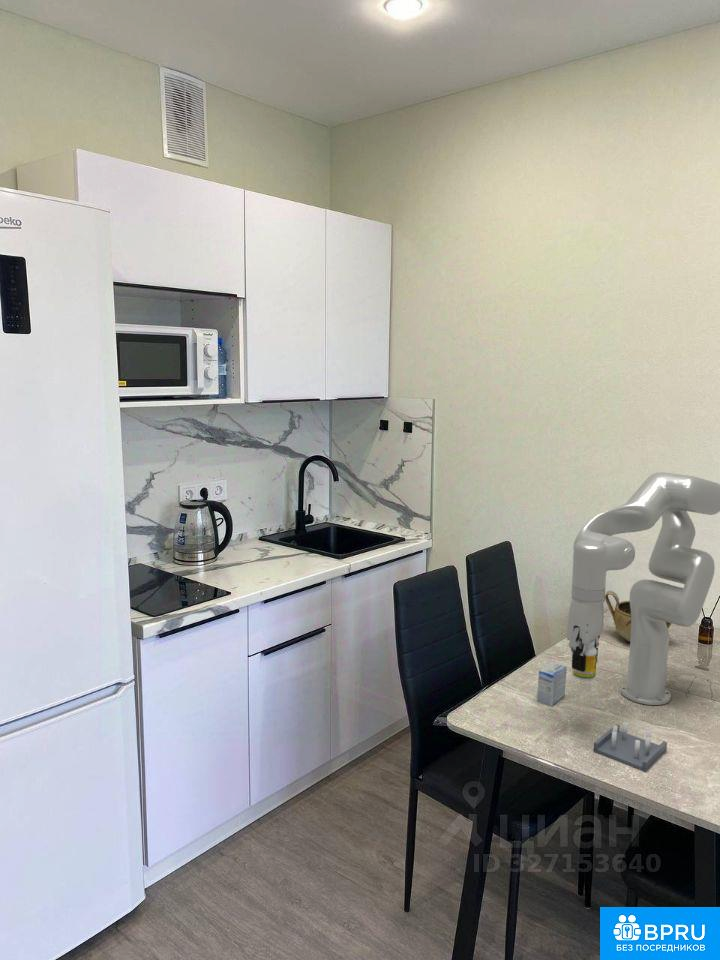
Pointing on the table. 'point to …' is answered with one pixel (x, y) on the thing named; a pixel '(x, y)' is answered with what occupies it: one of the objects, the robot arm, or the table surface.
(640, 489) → the robot arm
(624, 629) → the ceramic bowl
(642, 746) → the tray
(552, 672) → the medicine box
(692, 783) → the table surface
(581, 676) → the supplement bottle
